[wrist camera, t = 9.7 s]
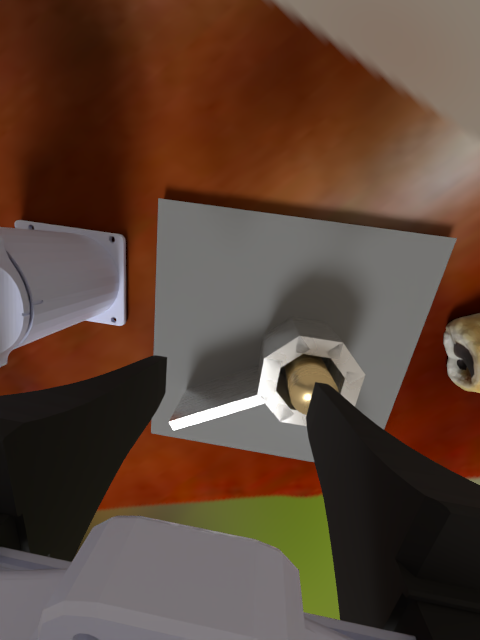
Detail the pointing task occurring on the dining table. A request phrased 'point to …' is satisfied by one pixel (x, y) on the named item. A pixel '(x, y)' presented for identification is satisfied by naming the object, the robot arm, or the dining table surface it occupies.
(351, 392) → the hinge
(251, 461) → the dining table surface
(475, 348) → the pastry
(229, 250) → the mat
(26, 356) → the dining table surface
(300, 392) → the pin
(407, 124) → the dining table surface
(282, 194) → the dining table surface
